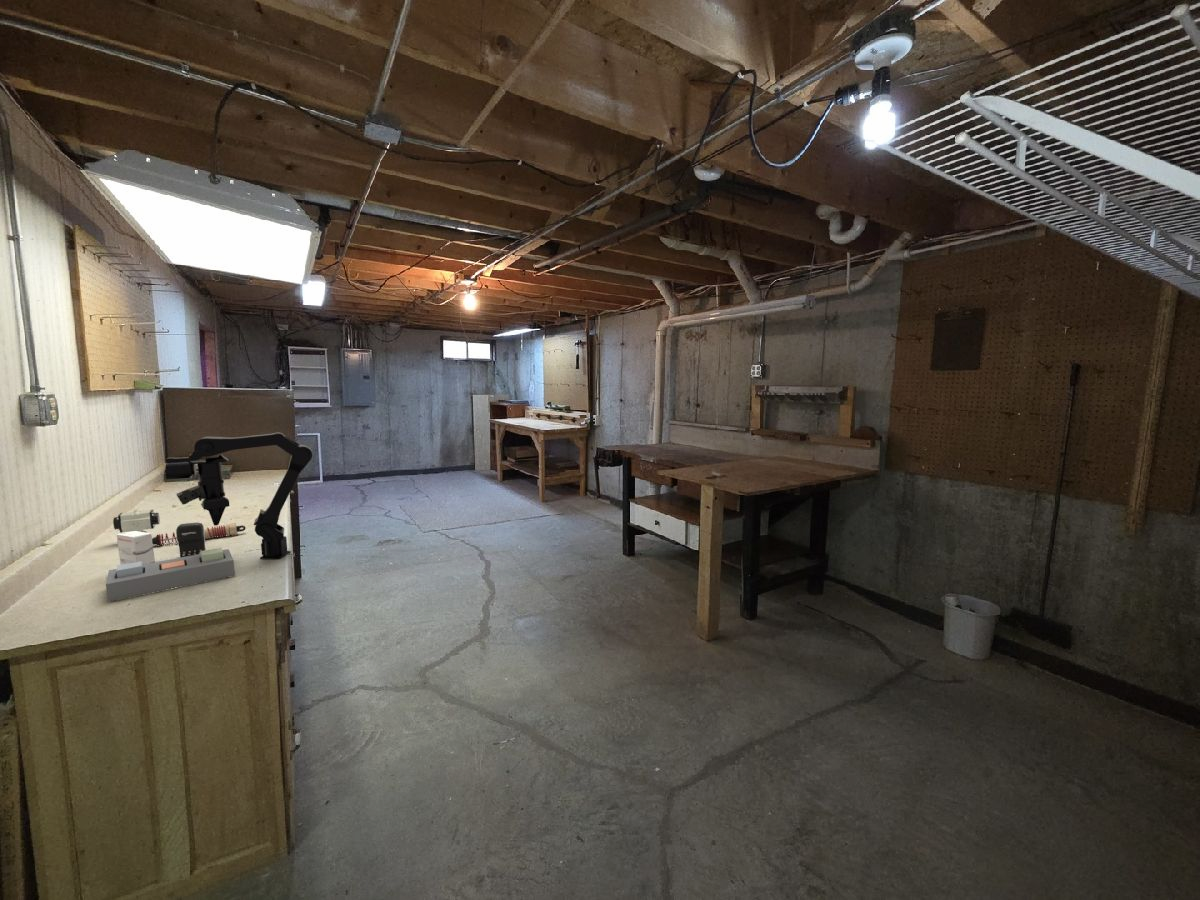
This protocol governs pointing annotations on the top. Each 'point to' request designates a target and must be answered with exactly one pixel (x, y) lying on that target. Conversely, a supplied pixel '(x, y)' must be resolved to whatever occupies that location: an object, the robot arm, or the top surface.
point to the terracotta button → (173, 564)
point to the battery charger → (190, 538)
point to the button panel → (168, 576)
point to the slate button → (129, 569)
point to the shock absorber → (225, 530)
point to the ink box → (135, 547)
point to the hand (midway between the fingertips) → (216, 525)
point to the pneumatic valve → (136, 521)
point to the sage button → (212, 554)
